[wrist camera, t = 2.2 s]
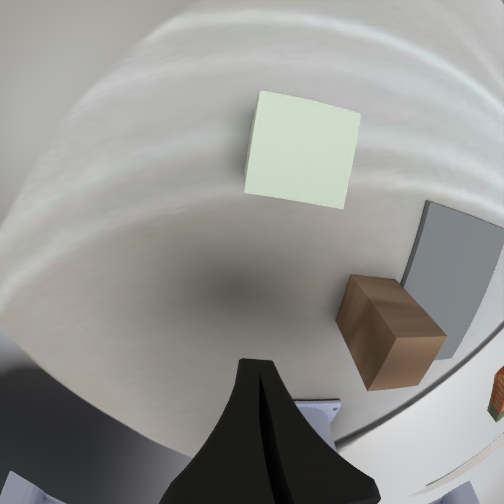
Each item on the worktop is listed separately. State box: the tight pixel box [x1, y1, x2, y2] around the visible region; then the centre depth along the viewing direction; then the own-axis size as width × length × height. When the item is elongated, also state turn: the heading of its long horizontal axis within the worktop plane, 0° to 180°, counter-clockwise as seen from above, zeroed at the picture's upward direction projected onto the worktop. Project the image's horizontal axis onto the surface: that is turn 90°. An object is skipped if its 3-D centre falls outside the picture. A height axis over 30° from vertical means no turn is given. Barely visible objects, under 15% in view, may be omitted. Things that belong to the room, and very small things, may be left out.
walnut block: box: [335, 274, 447, 391], centre depth 16 cm, size 4×4×7 cm
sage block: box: [244, 90, 361, 209], centre depth 12 cm, size 4×4×6 cm
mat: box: [400, 201, 504, 360], centre depth 19 cm, size 14×11×1 cm
